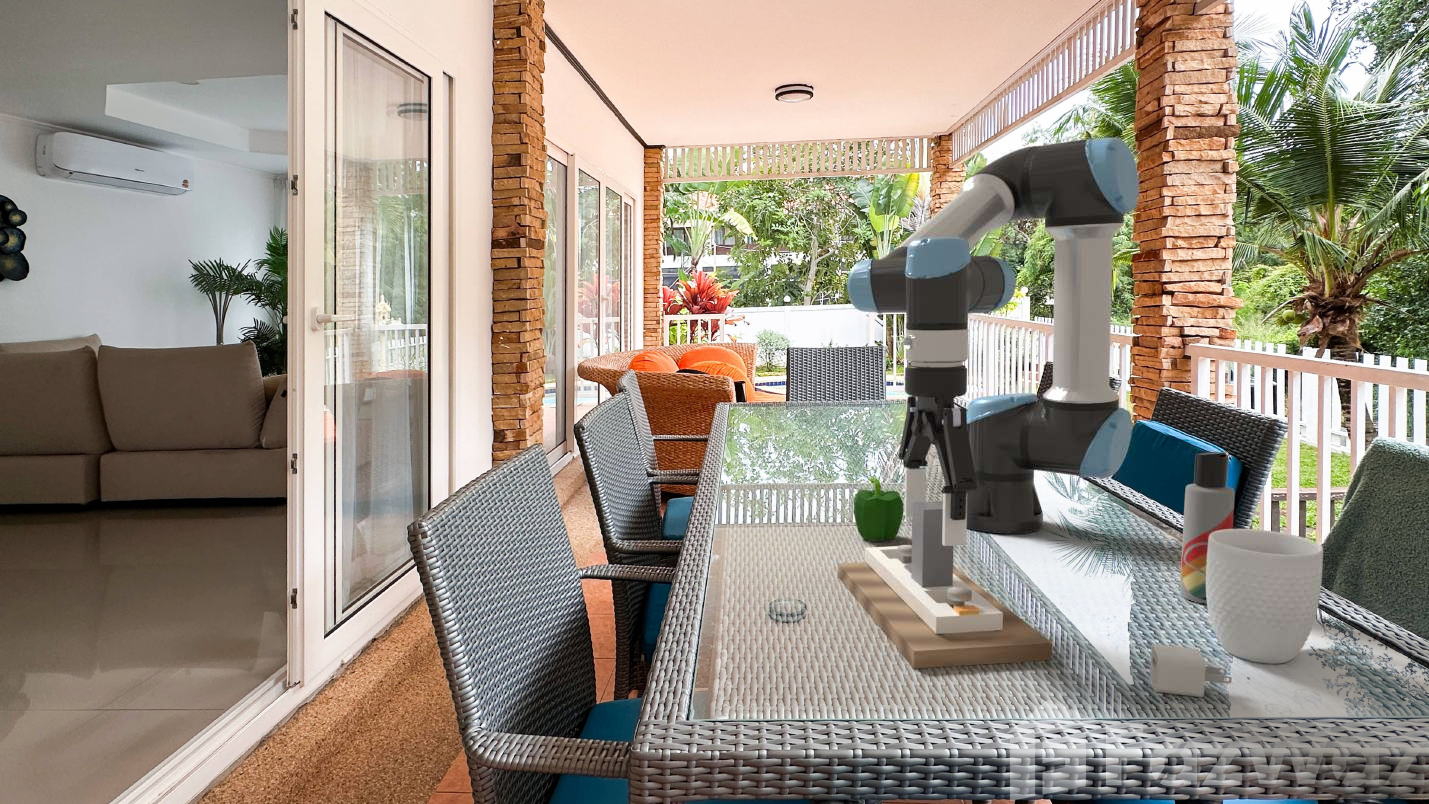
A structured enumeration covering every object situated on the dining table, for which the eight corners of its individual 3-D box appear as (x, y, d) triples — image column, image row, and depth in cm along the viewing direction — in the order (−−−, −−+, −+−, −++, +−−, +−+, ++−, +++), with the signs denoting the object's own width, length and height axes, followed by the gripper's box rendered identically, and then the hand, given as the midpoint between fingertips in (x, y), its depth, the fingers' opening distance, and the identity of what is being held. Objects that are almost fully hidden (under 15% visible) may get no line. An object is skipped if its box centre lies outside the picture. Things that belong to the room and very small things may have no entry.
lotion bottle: (1210, 608, 113) (1219, 456, 111) (1170, 595, 118) (1178, 449, 116) (1237, 600, 116) (1246, 452, 114) (1196, 588, 121) (1205, 446, 119)
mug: (1260, 622, 108) (1267, 519, 107) (1357, 654, 99) (1367, 542, 97) (1180, 644, 102) (1186, 535, 100) (1275, 681, 92) (1284, 560, 90)
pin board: (837, 576, 128) (838, 536, 127) (943, 571, 129) (944, 532, 129) (913, 668, 96) (914, 615, 95) (1051, 659, 98) (1053, 608, 97)
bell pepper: (903, 546, 143) (904, 486, 142) (852, 543, 144) (852, 484, 143) (902, 532, 151) (903, 475, 150) (854, 530, 153) (855, 474, 151)
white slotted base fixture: (864, 561, 128) (865, 480, 126) (917, 558, 129) (919, 478, 127) (935, 633, 100) (938, 531, 99) (1002, 629, 101) (1005, 528, 100)
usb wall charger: (1149, 677, 93) (1151, 641, 93) (1222, 686, 91) (1225, 649, 91) (1156, 694, 89) (1158, 656, 89) (1232, 703, 87) (1235, 665, 87)
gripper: (876, 356, 121) (875, 506, 123) (945, 373, 96) (941, 560, 99) (928, 355, 122) (926, 504, 124) (1010, 371, 97) (1005, 557, 100)
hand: (933, 529), depth 112 cm, fingers open, 13 cm apart
